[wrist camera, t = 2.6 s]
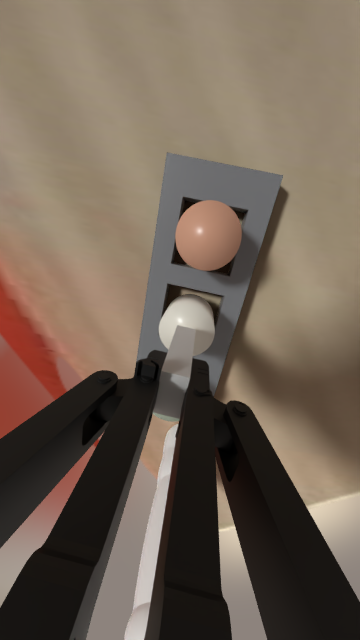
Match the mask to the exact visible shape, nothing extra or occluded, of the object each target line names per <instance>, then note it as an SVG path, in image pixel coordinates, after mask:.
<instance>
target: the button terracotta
mask: <svg viewBox="0 0 360 640" xmlns="http://www.w3.org/2000/svg"><path fill="white" fill-rule="evenodd" d="M241 238H242V230H241V224H240V221H239V219H238V217H237V215H236V214H235V212H234V211H233V210H232V209H231V208H230V207H229V206H227V205H226V204H224V203H222V202H219V201H214V200H206V201H201V202H198V203H196V204H194V205H192V206H191V207H190V208H188V209H187V210H186V211H185V212H184V214H183V215H182V216H181V218H180V220H179V222H178V225H177V228H176V234H175V240H176V246H177V249H178V252H179V254H180V256H181V257H182V259H183V260H184V261H185V262H186V263H187V264H188V265H190V266H192V267H193V268H196V269H198V270H203V271H211V270H216V269H219V268H221V267H223V266H225V265H226V264H227V263H229V262H230V261H231V260H232V259H233V257H234V256H235V255H236V253H237V251H238V249H239V247H240V243H241Z"/></svg>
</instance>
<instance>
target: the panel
mask: <svg viewBox="0 0 360 640" xmlns="http://www.w3.org/2000/svg"><path fill="white" fill-rule="evenodd" d="M282 178H283V175H278V174H273V173H268V172H263V171H258V170H253V169H248V168H243V167H238V166H233V165H228V164H223V163H218V162H213V161H208V160H202V159H197V158H192V157H187V156H182V155H177V154H172V153H167V156H166V162H165V169H164V176H163V183H162V190H161V197H160V204H159V210H158V217H157V224H156V231H155V238H154V245H153V252H152V258H151V265H150V272H149V279H148V286H147V293H146V300H145V306H144V313H143V320H142V327H141V334H140V341H139V348H138V354H137V361H138V360H140V359H145V358H147V356H148V354H149V353H150V352H151V351H153V350H159V351H163V352H167V353H168V349H167V348H166V347H165V346H164V344H163V343H162V341H161V339H160V336H159V324H160V321H161V319H162V317H163V315H164V312H165V307H166V301H167V296H168V290H169V285H170V284H173V285H177V286H182V287H186V288H191V289H195V290H200V291H204V292H209V293H213V294H218V295H222V298H221V301H220V305H219V309H218V312H217V316H216V320H215V323H214V327H215V335H214V339H213V342H212V344H211V345H210V347H209V348H208V349H207V350H206V351H204V352H203V353H201V354H199V355H196V356H193V357H192V358H195V359H199V360H203V361H206V362H207V364H208V365H209V382H210V390H211V391H212V394H213V397H214V394H215V391H216V388H217V385H218V381H219V378H220V375H221V372H222V369H223V365H224V362H225V359H226V356H227V353H228V350H229V346H230V343H231V340H232V337H233V334H234V330H235V327H236V324H237V321H238V318H239V315H240V311H241V308H242V305H243V302H244V299H245V296H246V292H247V289H248V286H249V283H250V280H251V276H252V273H253V270H254V267H255V264H256V261H257V257H258V254H259V251H260V248H261V245H262V241H263V238H264V235H265V232H266V229H267V226H268V222H269V219H270V216H271V213H272V210H273V206H274V203H275V200H276V197H277V194H278V191H279V187H280V184H281V181H282ZM206 200H214V201H219V202H222V203H224V204H226V205H227V206H229V207H230V208H231V209H232V210H233V211H238V212H243V213H245V214H244V218H243V221H242V225H241V230H242V238H241V243H240V247H239V249H238V251H237V253H236V255H235V256H234V257H233V259H232V261H231V265H230V269H229V272H228V274H226V273H222V272H217V271H213V270H211V271H203V270H198V269H196V268H193V267H192V266H190V265H185V264H180V263H176V262H174V257H175V252H176V240H175V234H176V228H177V225H178V222H179V220H180V218H181V216H182V213H183V208H184V202H185V201H190V202H194V203H198V202H201V201H206ZM137 361H136V362H137Z"/></svg>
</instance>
